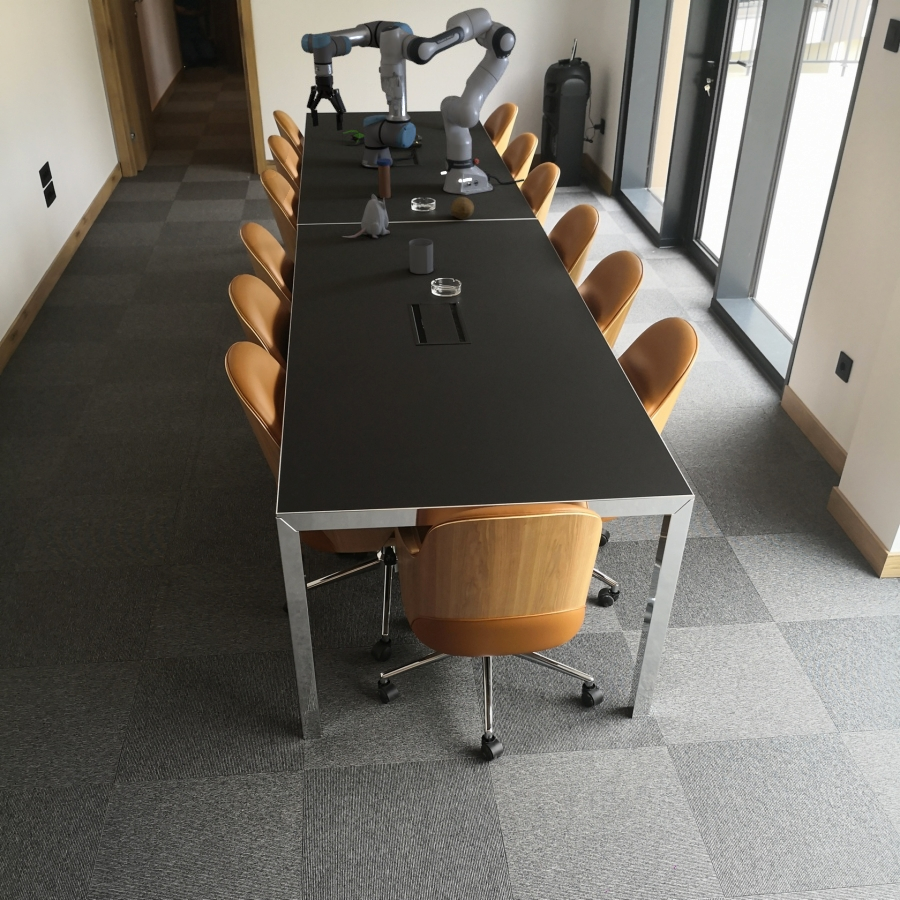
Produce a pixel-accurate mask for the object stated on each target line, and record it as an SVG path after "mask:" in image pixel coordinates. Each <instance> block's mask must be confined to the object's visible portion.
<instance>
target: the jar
mask: <svg viewBox="0 0 900 900" xmlns="http://www.w3.org/2000/svg"><path fill="white" fill-rule="evenodd" d="M377 173H378V197H379V199H390V198H391V197H392V190H391V167H390V165H387V166H380V165H378V169H377Z"/></svg>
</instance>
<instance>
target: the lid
mask: <svg viewBox="0 0 900 900" xmlns="http://www.w3.org/2000/svg"><path fill="white" fill-rule="evenodd" d="M390 164H391V160H390V159H385V158H383V159H378V160H377V165H380V166H387V165H390Z"/></svg>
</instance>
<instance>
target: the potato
mask: <svg viewBox="0 0 900 900" xmlns="http://www.w3.org/2000/svg"><path fill="white" fill-rule="evenodd" d="M474 210H475V204H474V203H473V201H472V200H471V199H469V198H468V197H466V196H459V197H457V198H455V199H454V200H453V202H452V203H451V206H450V213H451V214H452V216H454V217H455V218H457V219H459V220H466V219H468V218H470V217H471V216H473V213H474Z"/></svg>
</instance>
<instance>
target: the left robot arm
mask: <svg viewBox="0 0 900 900" xmlns="http://www.w3.org/2000/svg"><path fill="white" fill-rule="evenodd" d="M388 26H399V27H400V28H401V29H402V30H404V31H406V32H408V33H410V34H413V35H415V34H414V32H413V29H412V28H411V26H410V25H409V24H408V23H406V22H401V21H391V20H373V21H369V22H368V21H367V22H364V23H359V24H357V25H356V26H355V27H350V28H344V29H338V30H332V31H325V32H320V33H305V34H303V35H302V36H301V39H300V46H301V50H303V52H305V53H307V54H310V55H311V54H312V55H313V69H314V75H315V76H314V82H315V85H311V86H310V93H309V96H308V99H307V103H306V109H309V110H310V116H311V120H312V127H314V128H316V127H319V113H318V109H317V108H318V105H319V104H320V102H321V101H322V100H323V99H324V100H328V102H329V103H330V104H331V106H332V108H333V109H334V110H335V112H336V114H335V118H336V119H335V120H336V121H335V122H336V131H338V132H339V131H343V123H344V114H346V113H347V109H346V106H345V104H344V101H343V98H342V96H341V93H340V88H334V75H333V74H334V69H333V58H338V57H345V56H347V55H349V54H350V53H351V52H352V48H355V47H360V48H374V49H379V50H380V34H381V31H382V29H384V28H385V27H388ZM402 74H403V75H402V76H399V78H400V79H401V80H402V88H403V98H402V99H399V104H398V109H397V110H394V109H393V103H394V101H393V98H392V97H391V100H392V105H388V114H374V115H370V116H366V117H365V118H364V119H363V134H364V142H363V143H364V151H363V155H362V159H361V166H362V167H363V168H366V169H371V170H378V165H377V160H378V159H383V158H385V159H390V160H391V164H390V168H391V167H392V166H394V161H403V160H411V159H413V158H414V157H415V154H414V152H411V156H409V157H393V158H392V155H391V152H390V151H391V150H390V147H394V148H398V149H407V148H409V147H411V146H412V145H413V142H414V141H415V139H416V136H417V129H416V128H417V127H416V126H415V124H414V123H413V122H411V116H410V115H409V114H408V95H407V94H408V93H407V92H408V91H407V60H406V59H403V61H402Z"/></svg>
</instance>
